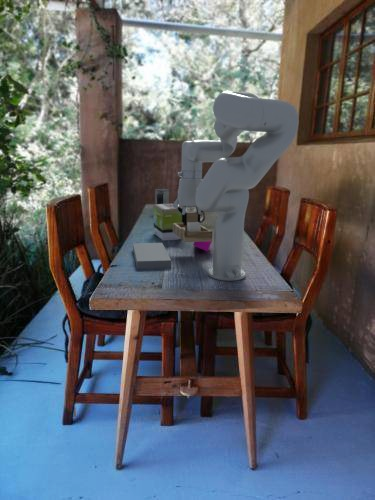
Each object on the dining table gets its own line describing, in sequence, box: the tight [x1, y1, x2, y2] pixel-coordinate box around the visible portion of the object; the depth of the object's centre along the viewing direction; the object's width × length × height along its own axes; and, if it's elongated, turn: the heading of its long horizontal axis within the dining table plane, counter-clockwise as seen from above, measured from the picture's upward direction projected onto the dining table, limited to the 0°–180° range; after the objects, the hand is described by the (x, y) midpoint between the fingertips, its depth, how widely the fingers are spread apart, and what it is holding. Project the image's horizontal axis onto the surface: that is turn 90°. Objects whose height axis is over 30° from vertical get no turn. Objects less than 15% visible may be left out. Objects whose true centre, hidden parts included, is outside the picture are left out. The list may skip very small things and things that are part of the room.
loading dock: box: [132, 242, 172, 270], centre depth 153 cm, size 26×12×3 cm, turn 11°
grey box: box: [187, 222, 202, 232], centre depth 146 cm, size 4×4×4 cm
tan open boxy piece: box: [173, 211, 213, 243], centre depth 152 cm, size 24×10×9 cm, turn 12°
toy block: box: [192, 240, 213, 252], centre depth 167 cm, size 15×6×8 cm, turn 177°
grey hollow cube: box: [154, 188, 170, 204], centre depth 251 cm, size 14×16×15 cm
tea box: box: [152, 203, 182, 241], centre depth 189 cm, size 15×10×15 cm, turn 21°
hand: (190, 224), depth 153 cm, fingers closed on tan open boxy piece, 4 cm apart
